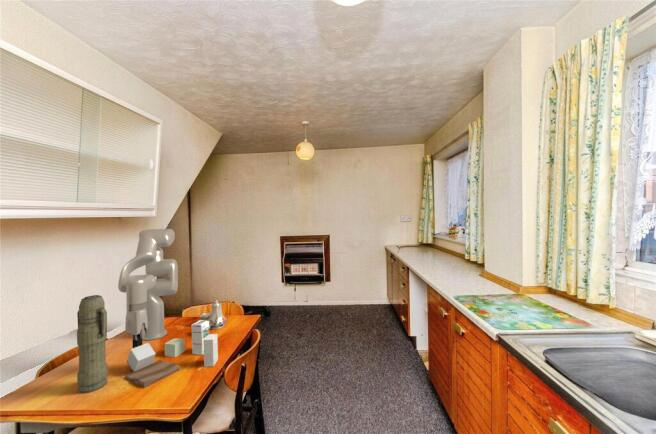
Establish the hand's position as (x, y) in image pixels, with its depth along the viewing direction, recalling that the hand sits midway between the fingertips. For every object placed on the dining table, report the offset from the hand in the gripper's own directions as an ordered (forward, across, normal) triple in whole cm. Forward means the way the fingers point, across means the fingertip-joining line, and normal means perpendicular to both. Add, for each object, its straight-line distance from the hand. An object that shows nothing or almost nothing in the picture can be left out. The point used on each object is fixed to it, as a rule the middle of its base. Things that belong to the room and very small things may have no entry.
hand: (137, 347), depth 121 cm
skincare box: (+9, +27, +17) cm, 33 cm away
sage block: (+8, +3, +15) cm, 17 cm away
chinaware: (+9, -10, +45) cm, 47 cm away
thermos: (+9, 0, -16) cm, 18 cm away
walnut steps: (+8, +12, 0) cm, 15 cm away
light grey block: (+7, +1, 0) cm, 7 cm away
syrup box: (+9, +13, +22) cm, 27 cm away
